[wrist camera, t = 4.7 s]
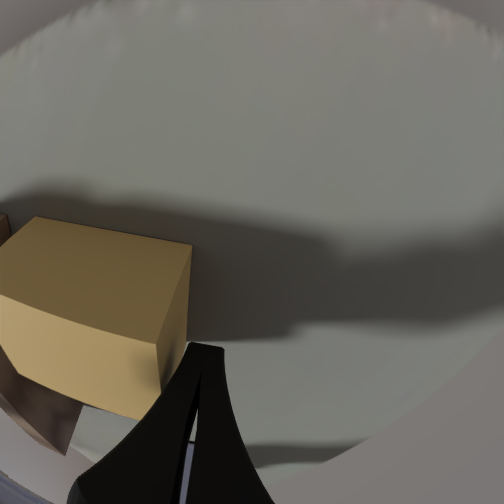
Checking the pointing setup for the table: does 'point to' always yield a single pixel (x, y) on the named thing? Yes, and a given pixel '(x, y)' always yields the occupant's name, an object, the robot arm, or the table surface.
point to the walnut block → (36, 398)
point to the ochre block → (94, 312)
